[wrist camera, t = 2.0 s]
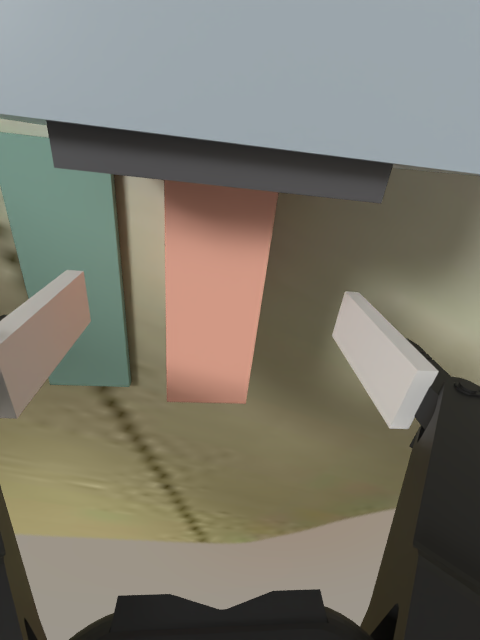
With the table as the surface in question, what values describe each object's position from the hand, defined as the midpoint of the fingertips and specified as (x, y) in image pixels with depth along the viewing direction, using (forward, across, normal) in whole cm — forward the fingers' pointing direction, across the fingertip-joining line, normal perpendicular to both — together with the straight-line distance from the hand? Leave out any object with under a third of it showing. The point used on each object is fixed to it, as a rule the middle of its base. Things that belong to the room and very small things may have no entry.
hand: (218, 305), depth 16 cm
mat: (+6, -9, -2) cm, 11 cm away
